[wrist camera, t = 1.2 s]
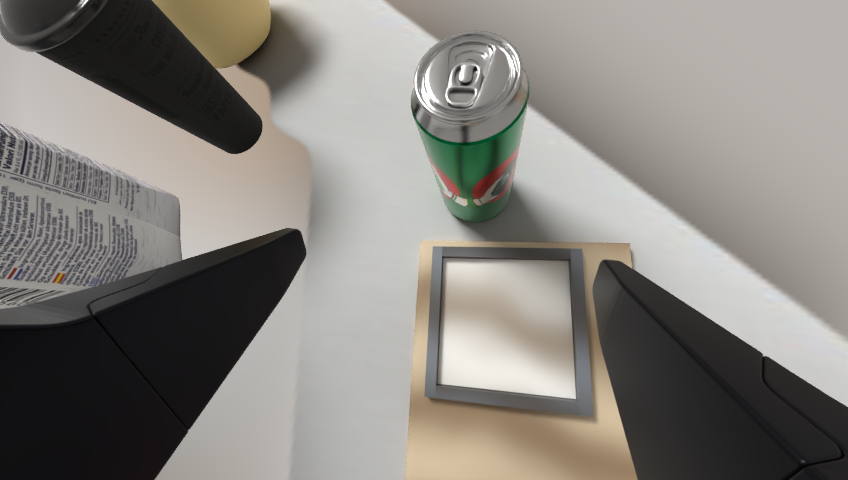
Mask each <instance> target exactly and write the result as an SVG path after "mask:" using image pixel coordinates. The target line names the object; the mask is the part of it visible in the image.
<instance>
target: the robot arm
mask: <svg viewBox="0 0 848 480" xmlns="http://www.w3.org/2000/svg"><path fill="white" fill-rule="evenodd" d="M305 257H306V248H305V244H304V241H303V237H302V234H301V232H300V231H299V230H298V229H292V228H286V229H282V230H279V231H275V232H273V233H269V234H266V235H263V236H259V237H256V238H253V239H250V240H246V241H243V242H240V243H237V244H233V245H230V246H227V247H224V248H221V249H217V250H214V251H211V252H208V253H204V254H201V255H198V256H195V257H191V258H188V259H185V260H182V261H179V262H175V263H172V264H169V265H166V266H164V267H159V268H156V269H153V270H149V271H146V272H143V273H139V274H136V275H133V276H129V277H126V278H123V279H119V280H116V281H112V282H109V283H105V284H102V285H98V286H94V287H91V288H87V289H84V290H80V291H76V292H73V293H69V294H65V295H62V296H58V297H54V298H51V299H47V300H43V301H40V302H36V303H32V304H28V305H24V306H18V307H12V308H4V309H0V480H155V478H156V477H157V475H158V474H159V473H160V471H161V470H162V468H163V467H164V466H165V464H166V463H167V461H168V460H169V458H170V457H171V456H172V454H173V453H174V451H175V450H176V448H177V447H178V445H179V444H180V443H181V441H182V440H183V438H184V437H185V435H186V434H187V433H188V430H189V429H190V428H191V427H192V425H193V424H194V422H195V421H196V419H197V418H198V416H199V415H200V414H201V412H202V411H203V409H204V408H205V407H206V405H207V404H208V402H209V401H210V400H211V398H212V397H213V395H214V394H215V392H216V391H217V390H218V388H219V387H220V385H221V384H222V382H223V381H224V380H225V378H226V377H227V375H228V374H229V372H230V371H231V370H232V368H233V367H234V365H235V364H236V363H237V361H238V360H239V358H240V357H241V356H242V354H243V353H244V351H245V350H246V348H247V347H248V346H249V344H250V343H251V341H252V340H253V339H254V337H255V336H256V334H257V333H258V331H259V330H260V329H261V327H262V326H263V324H264V323H265V321H266V320H267V318H268V317H269V316H270V314H271V313H272V311H273V310H274V309H275V307H276V306H277V304H278V303H279V302H280V300H281V299H282V297H283V296H284V294H285V293H286V291H287V289H288V287H289V286H290V284H291V282H292V280H293V279H294V277H295V275H296V273H297V271H298V270H299V268H300V266H301V264H302V263H303V261H304V259H305ZM592 293H593V300H594V307H595V314H596V321H597V329H598V335H599V341H600V346H601V350H602V354H603V357H604V361H605V364H606V368H607V372H608V375H609V379H610V382H611V386H612V390H613V393H614V397H615V400H616V404H617V407H618V411H619V415H620V418H621V422H622V425H623V429H624V433H625V436H626V440H627V443H628V447H629V451H630V454H631V458H632V461H633V465H634V468H635V472H636V476H637V479H638V480H848V407H847V406H845V405H843V404H842V403H840V402H838V401H837V400H835V399H833V398H832V397H830V396H828V395H827V394H825V393H824V392H822V391H820V390H819V389H817V388H816V387H814V386H812V385H811V384H809V383H808V382H806V381H805V380H803V379H801V378H800V377H798V376H797V375H795V374H794V373H792V372H790V371H789V370H787V369H786V368H784V367H783V366H781V365H780V364H778V363H777V362H775V361H774V360H772V359H771V358H769V357H767V356H764V357H763V354H762V353H761V352H760V351H758V350H757V349H755V348H753V347H752V346H750V345H749V344H747V343H746V342H744V341H743V340H741V339H740V338H738V337H737V336H735V335H733V334H732V333H730V332H729V331H727V330H726V329H724V328H723V327H721V326H720V325H718V324H717V323H715V322H713V321H712V320H710V319H709V318H707V317H706V316H704V315H703V314H701V313H700V312H698V311H697V310H695V309H693V308H692V307H690V306H689V305H687V304H686V303H684V302H683V301H681V300H680V299H678V298H677V297H675V296H673V295H672V294H670V293H669V292H667V291H666V290H664V289H663V288H661V287H660V286H658V285H657V284H655V283H653V282H652V281H650V280H649V279H647V278H646V277H644V276H643V275H641V274H640V273H638V272H637V271H635V270H633V269H632V268H630V267H629V266H627V265H626V264H624V263H623V262H621V261H618V260H608V259H604V260H602V261H601V262H600V264H599V267H598V270H597V273H596V276H595V279H594V283H593V288H592Z"/></svg>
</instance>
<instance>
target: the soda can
mask: <svg viewBox="0 0 848 480" xmlns="http://www.w3.org/2000/svg"><path fill="white" fill-rule="evenodd" d="M528 98H529V81H528V77H527V74H526V72H525V70H524V68H523V66H522V61H521V58H520V55H519V53H518V52H517V50H516V48H515V47H514V46H513V45H512V44H511V43H510V42H509V41H508V40H506V39H505V38H503V37H501V36H499V35H497V34H494V33H491V32H486V31H467V32H461V33H457V34H455V35H452V36H449V37H447V38H445V39H443V40H441V41H440V42H438V43H437V44H435V45H434V46H433V47H432V48H430V49H429V51H428V52H427V53H426V54H425V55H424V56H423V58H422V59H421V61H420V63H419V64H418V66H417V69H416V72H415V77H414V88H413V91H412V96H411V108H412V113H413V117H414V119H415V122H416V125H417V128H418V130H419V133H420V136H421V139H422V141H423V144H424V147H425V150H426V152H427V155H428V158H429V161H430V163H431V166H432V169H433V172H434V175H435V177H436V180H437V183H438V186H439V188H440V191H441V194H442V197H443V199H444V202H445V204H446V206H447V208H448V209H449V211H450V212H451V213H452V214H454V215H455V216H456V217H458V218H460V219H462V220H465V221H470V222H481V221H485V220H488V219H491V218H493V217H494V216H496V215H497V214H499V213H500V212H501V211H502V210H503V209H504V208H505V206H506V204H507V203H508V200H509V197H510V193H511V188H512V182H513V177H514V172H515V167H516V161H517V156H518V151H519V146H520V140H521V135H522V130H523V125H524V119H525V114H526V109H527V104H528Z"/></svg>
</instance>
